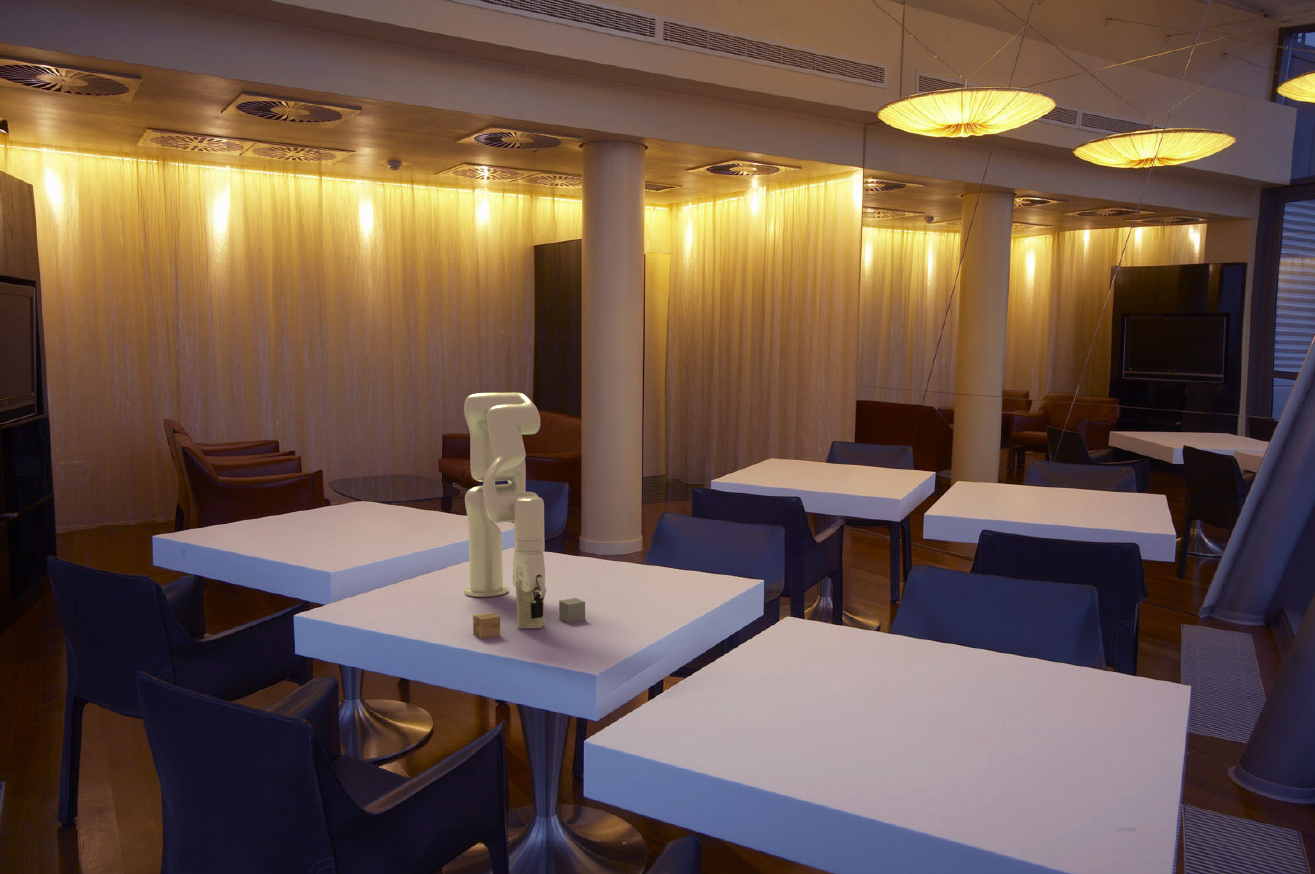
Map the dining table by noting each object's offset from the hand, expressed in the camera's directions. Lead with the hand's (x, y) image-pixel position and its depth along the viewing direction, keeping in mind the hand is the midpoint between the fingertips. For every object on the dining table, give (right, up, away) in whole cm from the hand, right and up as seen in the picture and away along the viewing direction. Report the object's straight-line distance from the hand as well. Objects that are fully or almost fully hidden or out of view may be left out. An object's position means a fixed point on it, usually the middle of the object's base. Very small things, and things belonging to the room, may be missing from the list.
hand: (530, 613), depth 229 cm
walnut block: (-10, -4, -7) cm, 13 cm away
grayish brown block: (+10, -3, +7) cm, 13 cm away
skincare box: (0, -4, 0) cm, 4 cm away
